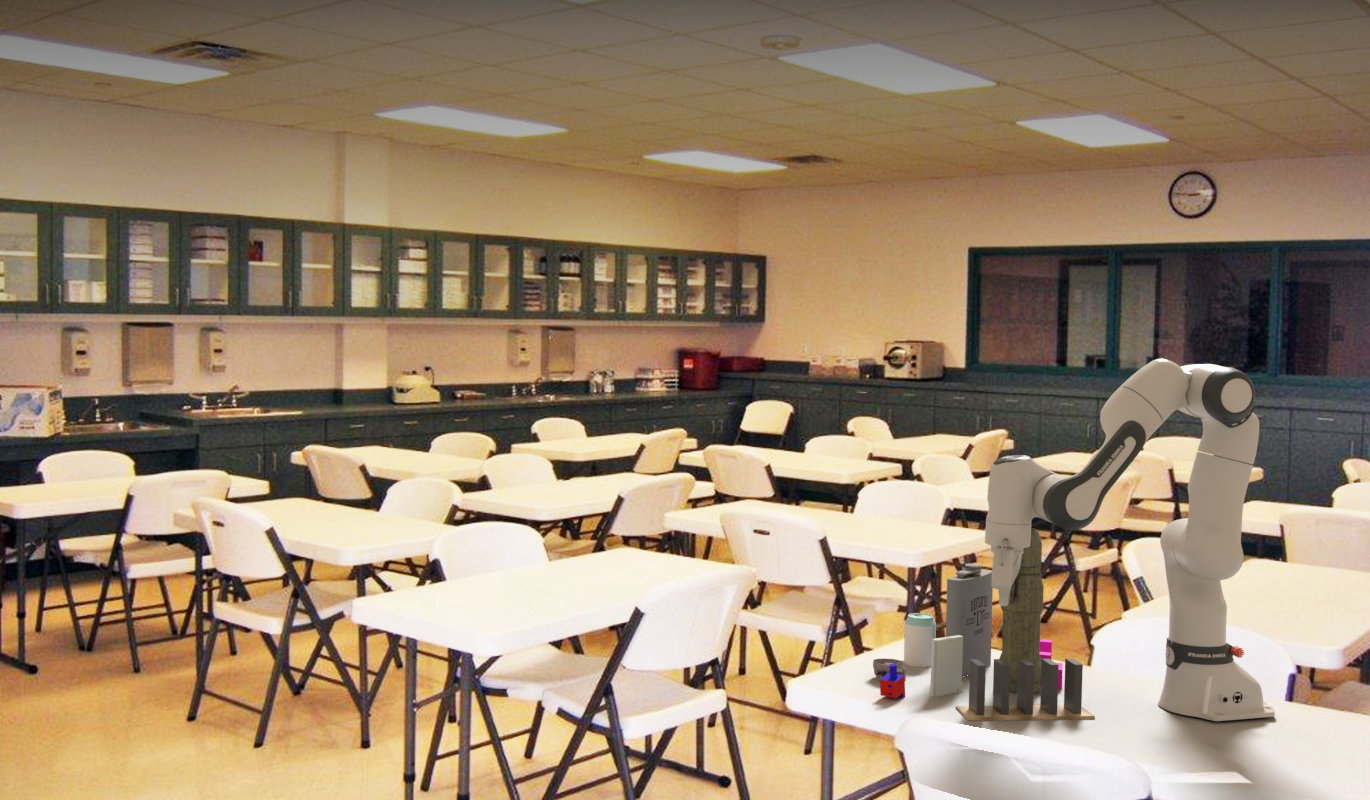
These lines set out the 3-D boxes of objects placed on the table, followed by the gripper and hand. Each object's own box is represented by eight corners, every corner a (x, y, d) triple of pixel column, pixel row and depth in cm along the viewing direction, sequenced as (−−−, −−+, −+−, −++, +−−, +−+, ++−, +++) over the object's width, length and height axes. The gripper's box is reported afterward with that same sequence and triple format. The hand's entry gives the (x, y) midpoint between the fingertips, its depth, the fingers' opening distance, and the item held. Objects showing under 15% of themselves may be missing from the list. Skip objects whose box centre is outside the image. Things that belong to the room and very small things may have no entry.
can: (898, 667, 299) (899, 615, 298) (913, 661, 304) (914, 610, 303) (925, 672, 294) (926, 620, 293) (940, 666, 299) (941, 615, 299)
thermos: (1049, 687, 283) (1054, 527, 281) (1029, 699, 273) (1034, 533, 271) (1010, 680, 288) (1014, 523, 286) (989, 692, 278) (993, 529, 277)
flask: (961, 682, 286) (964, 569, 285) (942, 678, 289) (945, 567, 288) (996, 667, 299) (999, 560, 298) (977, 664, 302) (980, 557, 301)
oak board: (1078, 707, 268) (1078, 704, 267) (1094, 718, 260) (1094, 715, 260) (955, 709, 265) (955, 706, 265) (968, 720, 257) (968, 717, 257)
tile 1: (976, 708, 264) (977, 659, 263) (984, 715, 259) (985, 665, 258) (968, 708, 264) (969, 659, 263) (976, 715, 259) (977, 665, 258)
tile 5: (1071, 706, 266) (1072, 658, 265) (1081, 713, 261) (1082, 664, 260) (1063, 706, 266) (1065, 658, 265) (1073, 713, 261) (1074, 664, 260)
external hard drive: (962, 693, 277) (964, 636, 276) (934, 699, 272) (936, 640, 271) (957, 692, 278) (958, 634, 277) (929, 697, 273) (930, 639, 273)
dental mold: (886, 678, 289) (887, 655, 289) (912, 684, 284) (913, 661, 284) (864, 684, 283) (865, 661, 283) (890, 690, 279) (891, 667, 278)
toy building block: (880, 703, 270) (879, 666, 269) (889, 696, 274) (888, 659, 272) (896, 706, 268) (894, 669, 267) (905, 698, 271) (903, 662, 270)
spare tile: (1024, 707, 265) (1025, 658, 264) (1032, 714, 260) (1034, 665, 259) (1016, 707, 265) (1017, 658, 264) (1025, 714, 260) (1026, 665, 259)
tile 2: (1000, 707, 264) (1001, 659, 264) (1008, 714, 259) (1010, 665, 259) (992, 707, 264) (993, 659, 264) (1000, 714, 259) (1002, 665, 259)
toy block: (1061, 690, 281) (1062, 656, 281) (1031, 688, 283) (1032, 654, 283) (1062, 673, 296) (1063, 641, 295) (1034, 671, 297) (1034, 639, 297)
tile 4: (1047, 707, 265) (1049, 658, 265) (1057, 714, 260) (1058, 664, 260) (1040, 707, 265) (1041, 658, 265) (1049, 714, 260) (1050, 664, 260)
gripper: (1019, 544, 249) (1015, 616, 249) (1028, 531, 268) (1024, 597, 269) (986, 541, 251) (982, 612, 251) (996, 528, 270) (993, 594, 271)
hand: (1003, 604), depth 260 cm, fingers closed
